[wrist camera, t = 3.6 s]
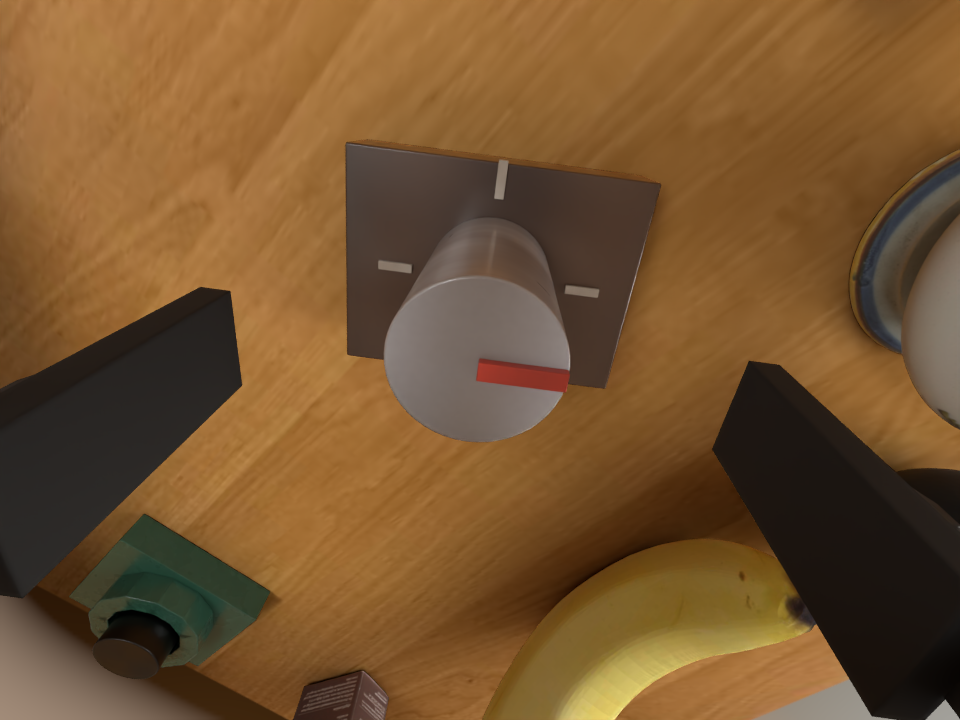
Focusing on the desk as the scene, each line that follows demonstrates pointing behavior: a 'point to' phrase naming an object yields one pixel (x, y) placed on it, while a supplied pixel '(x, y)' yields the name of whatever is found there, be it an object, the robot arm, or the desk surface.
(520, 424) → the dial
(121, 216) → the desk surface
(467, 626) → the desk surface
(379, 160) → the dial panel
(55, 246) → the desk surface
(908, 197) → the apothecary jar
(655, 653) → the banana
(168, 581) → the button box
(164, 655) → the button
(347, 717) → the box
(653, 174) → the desk surface
